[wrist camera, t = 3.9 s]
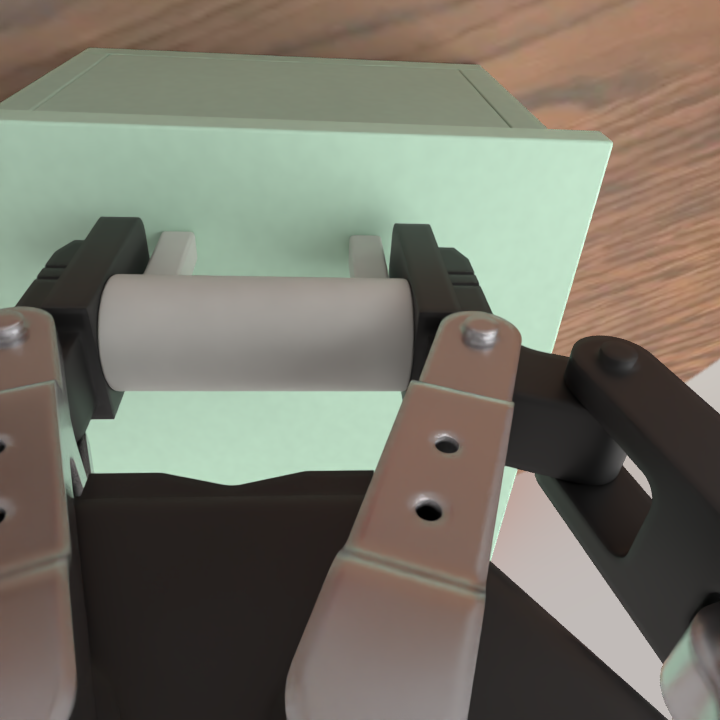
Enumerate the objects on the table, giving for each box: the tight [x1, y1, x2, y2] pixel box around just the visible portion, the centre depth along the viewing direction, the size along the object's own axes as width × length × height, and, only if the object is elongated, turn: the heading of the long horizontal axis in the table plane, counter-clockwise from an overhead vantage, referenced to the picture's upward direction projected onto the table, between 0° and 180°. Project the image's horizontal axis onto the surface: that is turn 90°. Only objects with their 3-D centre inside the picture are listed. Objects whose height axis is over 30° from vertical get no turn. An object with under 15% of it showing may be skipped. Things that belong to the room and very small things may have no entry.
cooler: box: [0, 48, 547, 129], centre depth 23 cm, size 17×14×11 cm
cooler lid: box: [0, 109, 613, 561], centre depth 16 cm, size 18×14×5 cm
